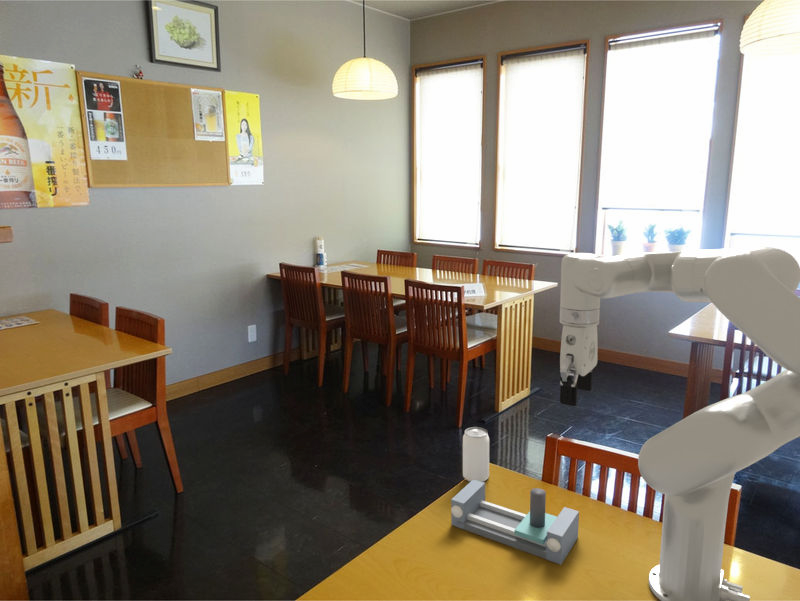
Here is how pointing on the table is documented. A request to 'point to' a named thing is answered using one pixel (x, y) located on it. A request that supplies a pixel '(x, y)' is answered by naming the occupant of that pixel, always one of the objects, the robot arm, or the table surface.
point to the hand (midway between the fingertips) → (576, 396)
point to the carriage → (536, 519)
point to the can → (476, 454)
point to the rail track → (511, 524)
